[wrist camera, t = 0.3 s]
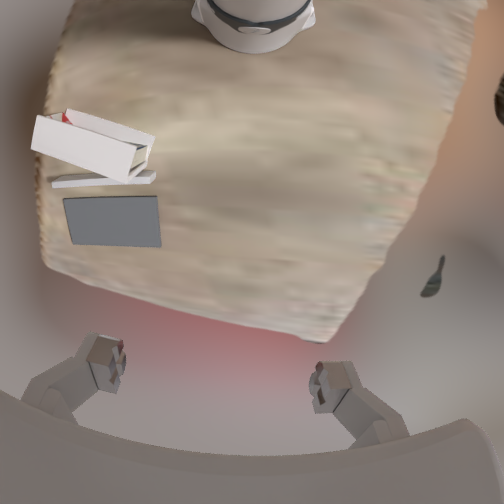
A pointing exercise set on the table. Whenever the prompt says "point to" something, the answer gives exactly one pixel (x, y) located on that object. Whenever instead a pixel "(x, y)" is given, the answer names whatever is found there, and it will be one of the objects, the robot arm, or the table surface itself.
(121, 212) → the mat
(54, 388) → the robot arm
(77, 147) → the white boxy piece
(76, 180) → the low wall
